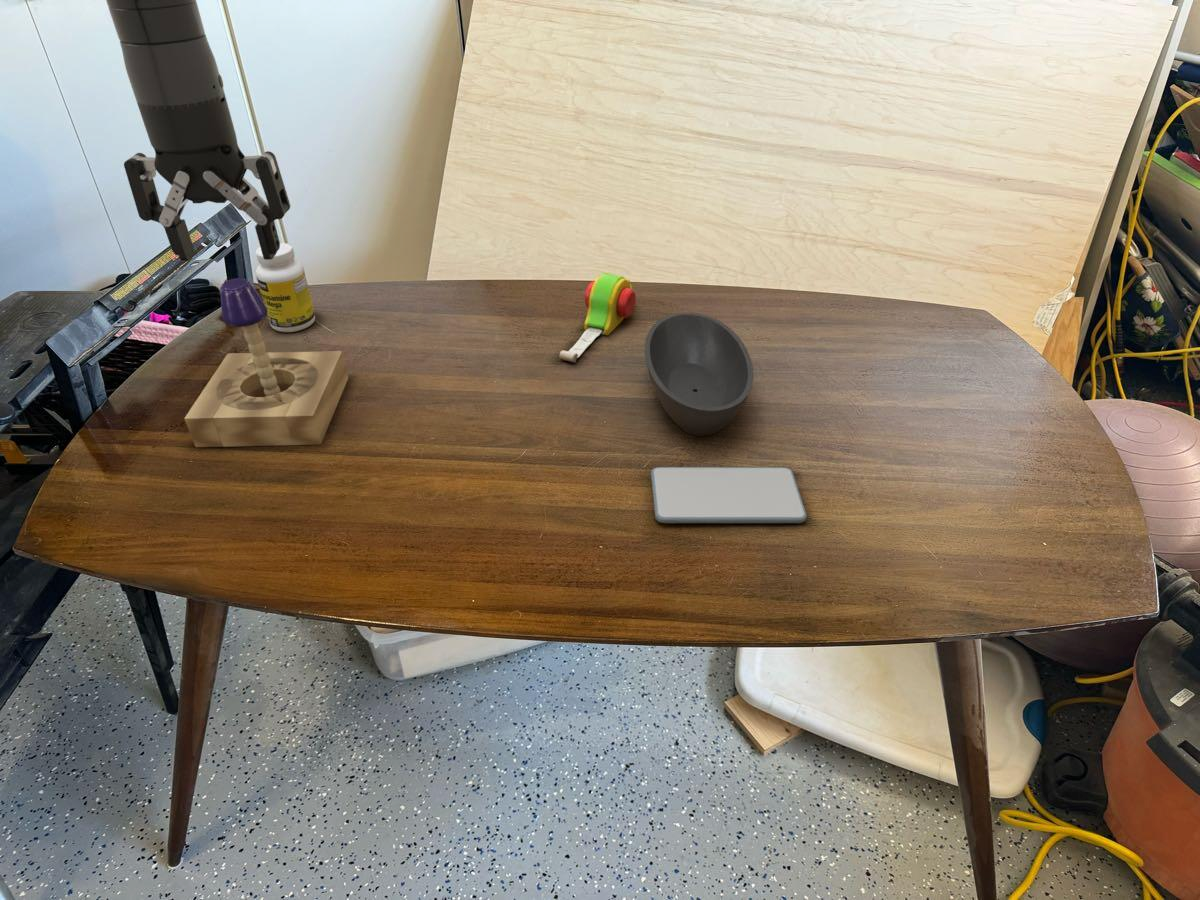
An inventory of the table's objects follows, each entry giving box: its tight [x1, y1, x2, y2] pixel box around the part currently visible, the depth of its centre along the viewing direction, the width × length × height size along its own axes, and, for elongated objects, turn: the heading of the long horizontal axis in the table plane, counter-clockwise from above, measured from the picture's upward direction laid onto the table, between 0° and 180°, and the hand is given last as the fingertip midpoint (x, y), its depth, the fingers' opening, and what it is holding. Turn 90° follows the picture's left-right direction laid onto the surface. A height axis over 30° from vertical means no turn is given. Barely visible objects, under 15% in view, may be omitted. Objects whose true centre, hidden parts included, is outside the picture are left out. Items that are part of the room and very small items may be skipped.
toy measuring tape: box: [558, 272, 637, 364], centre depth 108 cm, size 6×20×7 cm, turn 154°
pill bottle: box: [255, 242, 316, 333], centre depth 109 cm, size 6×6×11 cm
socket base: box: [183, 350, 349, 448], centre depth 94 cm, size 14×14×4 cm
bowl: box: [644, 312, 754, 437], centre depth 94 cm, size 12×22×6 cm, turn 3°
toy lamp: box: [220, 277, 281, 397], centre depth 90 cm, size 5×5×17 cm
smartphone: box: [650, 466, 808, 524], centre depth 81 cm, size 8×1×15 cm
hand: (229, 257), depth 83 cm, fingers open, 8 cm apart
